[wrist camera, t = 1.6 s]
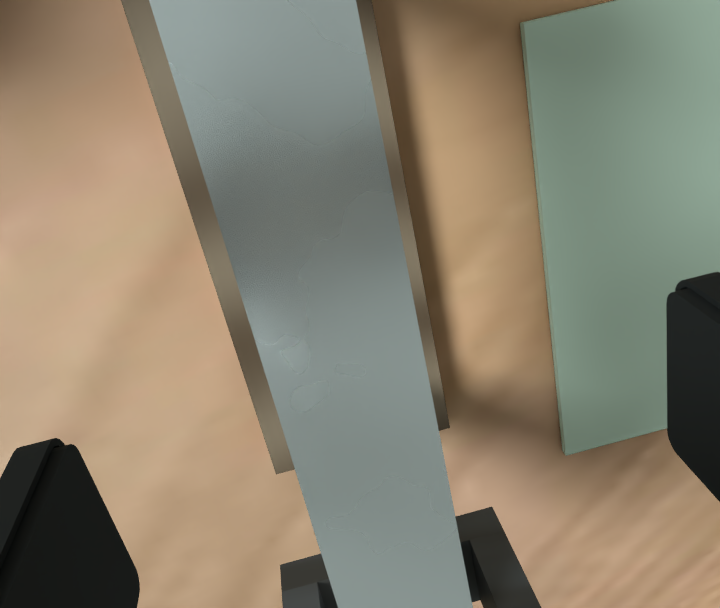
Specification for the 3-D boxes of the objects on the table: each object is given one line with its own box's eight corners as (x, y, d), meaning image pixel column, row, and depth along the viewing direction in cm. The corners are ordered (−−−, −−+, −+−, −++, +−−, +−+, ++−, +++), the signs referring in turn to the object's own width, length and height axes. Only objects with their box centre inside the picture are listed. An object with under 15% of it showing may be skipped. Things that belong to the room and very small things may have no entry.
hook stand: (442, 413, 32) (605, 753, 18) (275, 457, 32) (300, 843, 17) (327, -205, 22) (489, -599, 7) (77, -151, 22) (-265, -457, 7)
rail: (466, 647, 21) (498, 743, 18) (371, 674, 21) (389, 774, 18) (256, -372, 11) (260, -495, 8) (68, -334, 11) (10, -446, 8)
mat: (733, 404, 35) (739, 408, 34) (562, 450, 34) (566, 455, 34) (747, -32, 26) (755, -32, 26) (519, 22, 26) (523, 23, 25)
